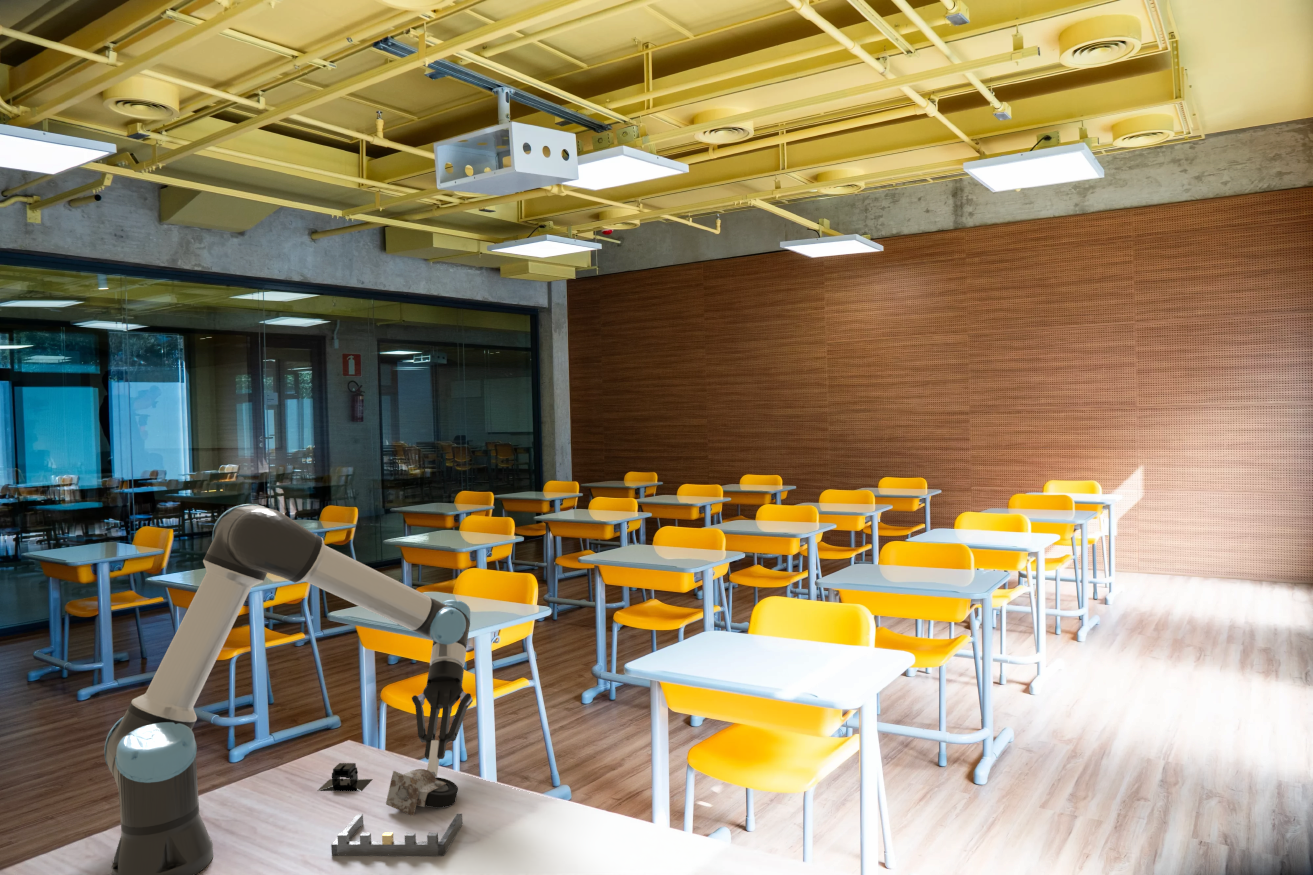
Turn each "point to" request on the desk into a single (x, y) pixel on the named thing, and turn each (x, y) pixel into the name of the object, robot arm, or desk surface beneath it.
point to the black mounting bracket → (345, 784)
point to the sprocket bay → (392, 842)
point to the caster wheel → (420, 791)
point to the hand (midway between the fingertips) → (432, 774)
